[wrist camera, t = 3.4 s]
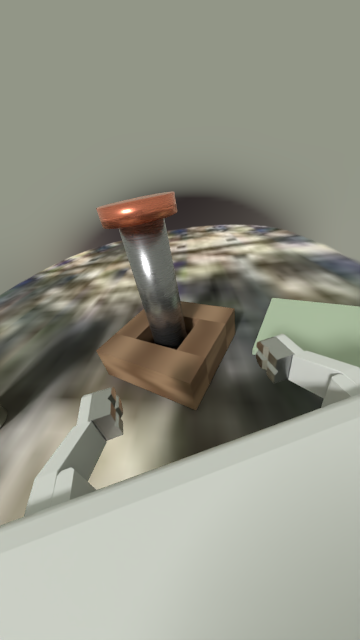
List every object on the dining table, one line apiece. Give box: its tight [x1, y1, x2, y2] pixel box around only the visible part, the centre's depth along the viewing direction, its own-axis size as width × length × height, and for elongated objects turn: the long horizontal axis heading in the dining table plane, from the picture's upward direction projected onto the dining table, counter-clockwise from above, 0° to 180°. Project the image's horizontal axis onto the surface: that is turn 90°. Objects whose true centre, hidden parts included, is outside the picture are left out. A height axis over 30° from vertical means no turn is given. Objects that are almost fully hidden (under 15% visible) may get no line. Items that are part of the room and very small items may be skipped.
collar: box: [96, 301, 235, 410], centre depth 26 cm, size 12×12×4 cm
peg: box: [96, 192, 187, 350], centre depth 22 cm, size 6×6×17 cm
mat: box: [252, 298, 360, 368], centre depth 25 cm, size 12×12×1 cm
